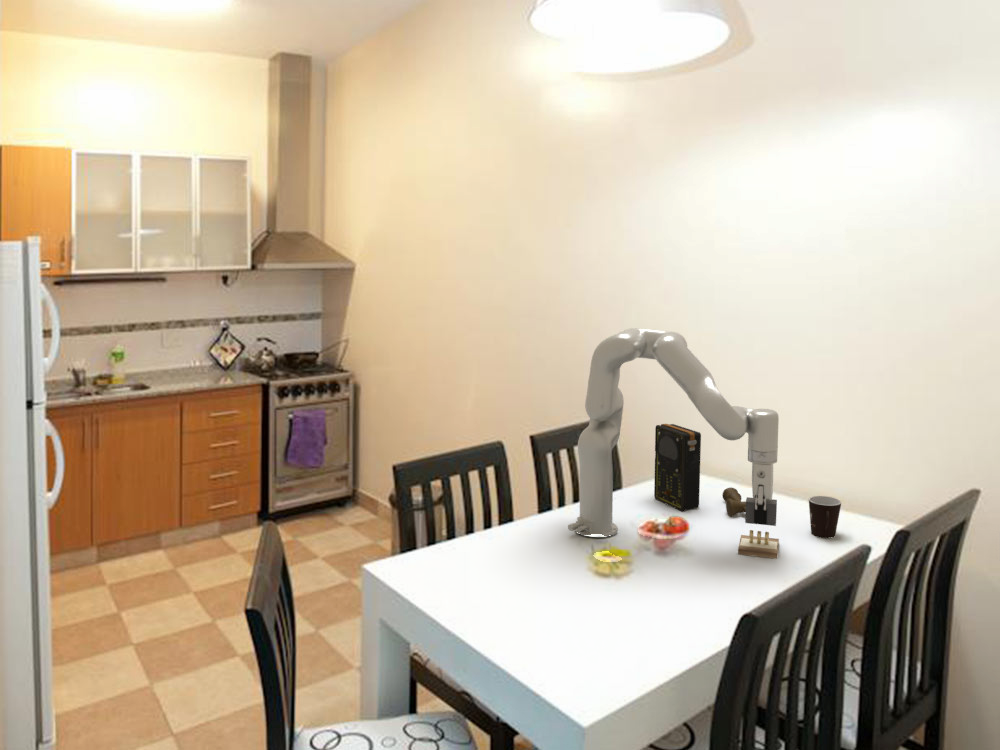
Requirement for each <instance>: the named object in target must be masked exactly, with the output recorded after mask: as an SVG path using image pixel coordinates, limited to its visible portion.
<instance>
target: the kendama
mask: <svg viewBox="0 0 1000 750" xmlns="http://www.w3.org/2000/svg"><path fill="white" fill-rule="evenodd" d="M722 499H723V501H724V502H725V510H726V513H727V515H728V516H729V517H730V518H732V517H735V516H736V515H738V514H741V513H744V514H745V513H746V501H742V495H741V493H739V492H738V490H737V488H734V487H727V488H725V489H723V491H722Z"/></svg>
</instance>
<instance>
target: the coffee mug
mask: <svg viewBox="0 0 1000 750" xmlns="http://www.w3.org/2000/svg"><path fill="white" fill-rule="evenodd" d="M808 506H809V523H810V533H811V535H812V536H814V537H817V538H820V537H821V538H822V539H832V538H831V537H833V538H835V537H836V534H837V528H838V523H839V522H838V521H839V518H840V511H841V506H842V501H841V500H840V499H839V498H836V497H832V496H827V495H812V496H811V497H809V498H808ZM834 536H835V537H834ZM821 538H820V539H821Z"/></svg>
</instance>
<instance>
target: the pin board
mask: <svg viewBox="0 0 1000 750" xmlns="http://www.w3.org/2000/svg"><path fill="white" fill-rule="evenodd" d="M756 533H757V534H756V536H755V535H754V530H752V529H750V530H749V535H747V534H744V535H743V534H741V535H740V538H739V542H738V549H737V555H741V554H742V555H743V556H751V557H752V556H753V557H758V558H767V559H778V554H779V544H780V539H779V538H773V537H770V532H769V531H765V532H764V536H762V531H761V530H757V532H756Z"/></svg>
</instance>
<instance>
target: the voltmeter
mask: <svg viewBox="0 0 1000 750" xmlns="http://www.w3.org/2000/svg"><path fill="white" fill-rule="evenodd" d="M654 431H655V434H654V437H655V438H654V441H655V442H654V452H655V454H654V455H655V457H654V485H653V486H654V490H653V491H654V492H653V495H654V499H655V500H657V501H660V502H662V503H664V504H665V503H666V504H665V505H667V504H668V506H669V505H670V506H669V507H672V508H674V507H675V508H674V509H676V510H678V511H681V512H685V511H687V510H692V509H697V508H699V506H700V487H701V486H700V484H701V483H700V481H701V480H700V479H701V478H700V477H701V452H702V451H701V449H702V448H701V447H702V446H701V445H702V434H701V432H700V431H696V430H694V429H693V430H692V429H689V428H687V427H683V426H681V425H678V424H674V423H670V424H668V423H661V424H656V426H655V429H654Z"/></svg>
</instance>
